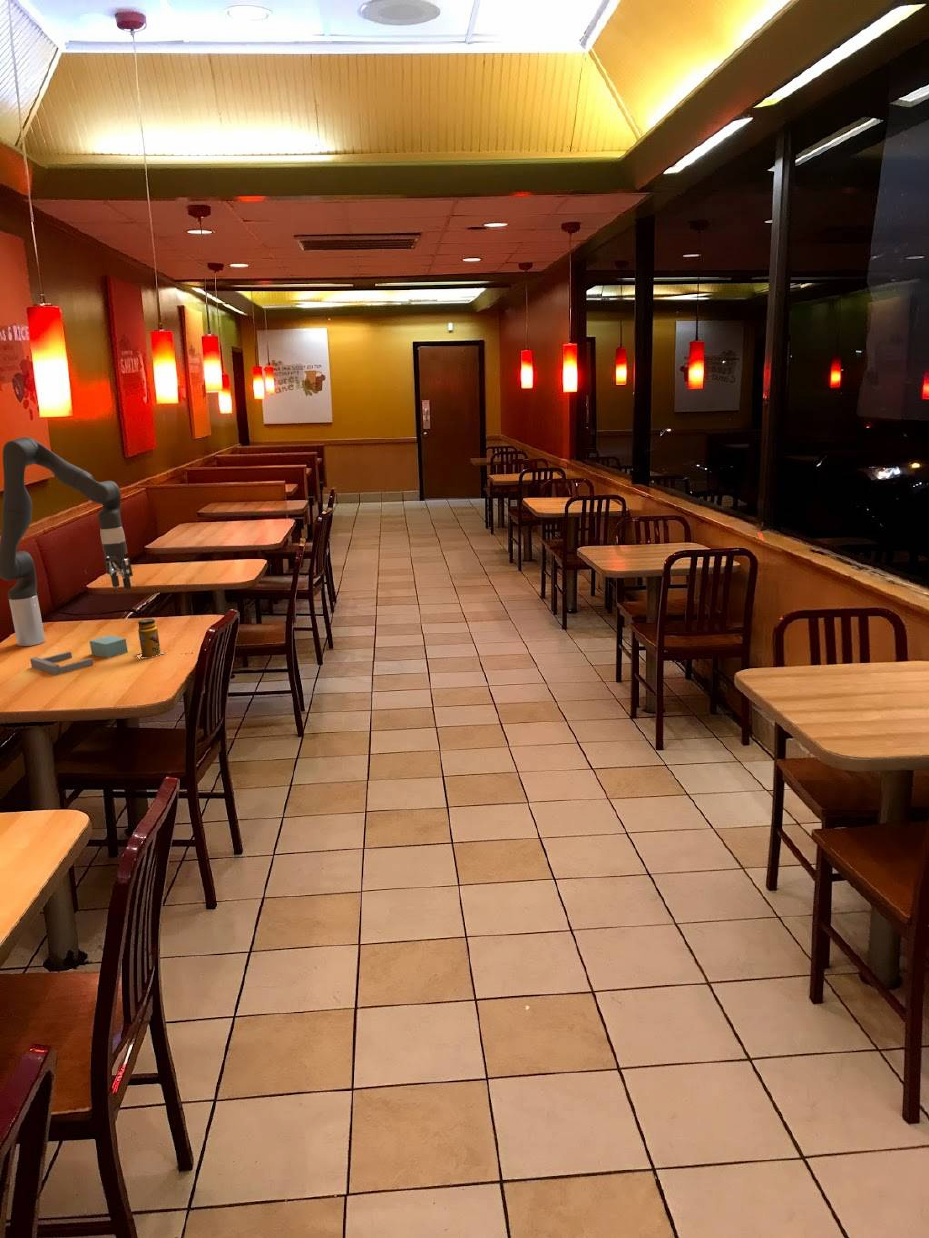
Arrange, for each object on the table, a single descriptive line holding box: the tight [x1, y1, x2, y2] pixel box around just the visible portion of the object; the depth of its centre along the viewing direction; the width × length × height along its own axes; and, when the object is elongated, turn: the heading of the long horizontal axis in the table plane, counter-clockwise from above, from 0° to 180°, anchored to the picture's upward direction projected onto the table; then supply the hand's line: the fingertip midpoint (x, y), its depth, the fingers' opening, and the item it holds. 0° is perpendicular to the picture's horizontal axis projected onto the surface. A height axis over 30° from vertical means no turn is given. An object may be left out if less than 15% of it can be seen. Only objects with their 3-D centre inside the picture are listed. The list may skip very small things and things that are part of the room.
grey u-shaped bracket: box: [29, 651, 94, 676], centre depth 302 cm, size 16×13×3 cm
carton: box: [89, 634, 129, 659], centre depth 314 cm, size 10×8×5 cm
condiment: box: [133, 618, 164, 661], centre depth 308 cm, size 7×8×12 cm
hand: (122, 587), depth 316 cm, fingers open, 8 cm apart
